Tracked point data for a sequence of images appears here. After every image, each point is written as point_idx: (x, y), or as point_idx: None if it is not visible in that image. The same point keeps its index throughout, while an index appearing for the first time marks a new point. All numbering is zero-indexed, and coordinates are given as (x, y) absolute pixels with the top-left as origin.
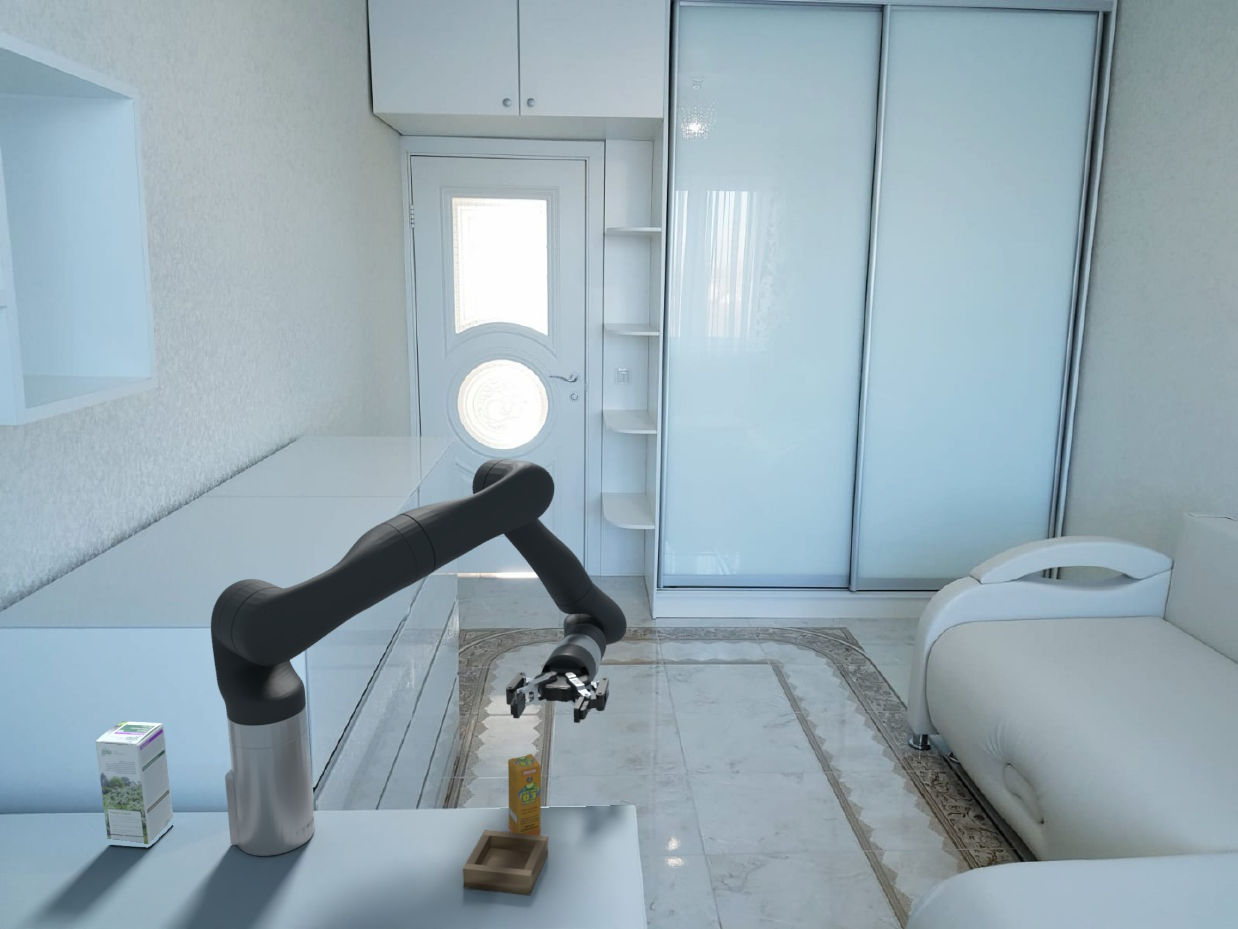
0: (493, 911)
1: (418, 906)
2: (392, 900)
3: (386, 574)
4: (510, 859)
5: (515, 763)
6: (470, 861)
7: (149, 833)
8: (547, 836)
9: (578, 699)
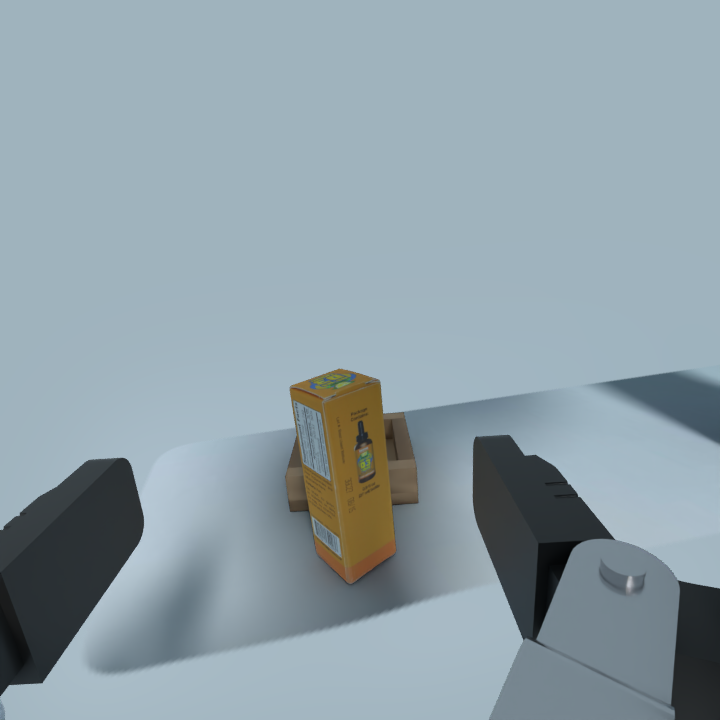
0: None
1: (444, 416)
2: (484, 416)
3: None
4: None
5: (354, 374)
6: (400, 421)
7: None
8: (285, 476)
9: (36, 533)
